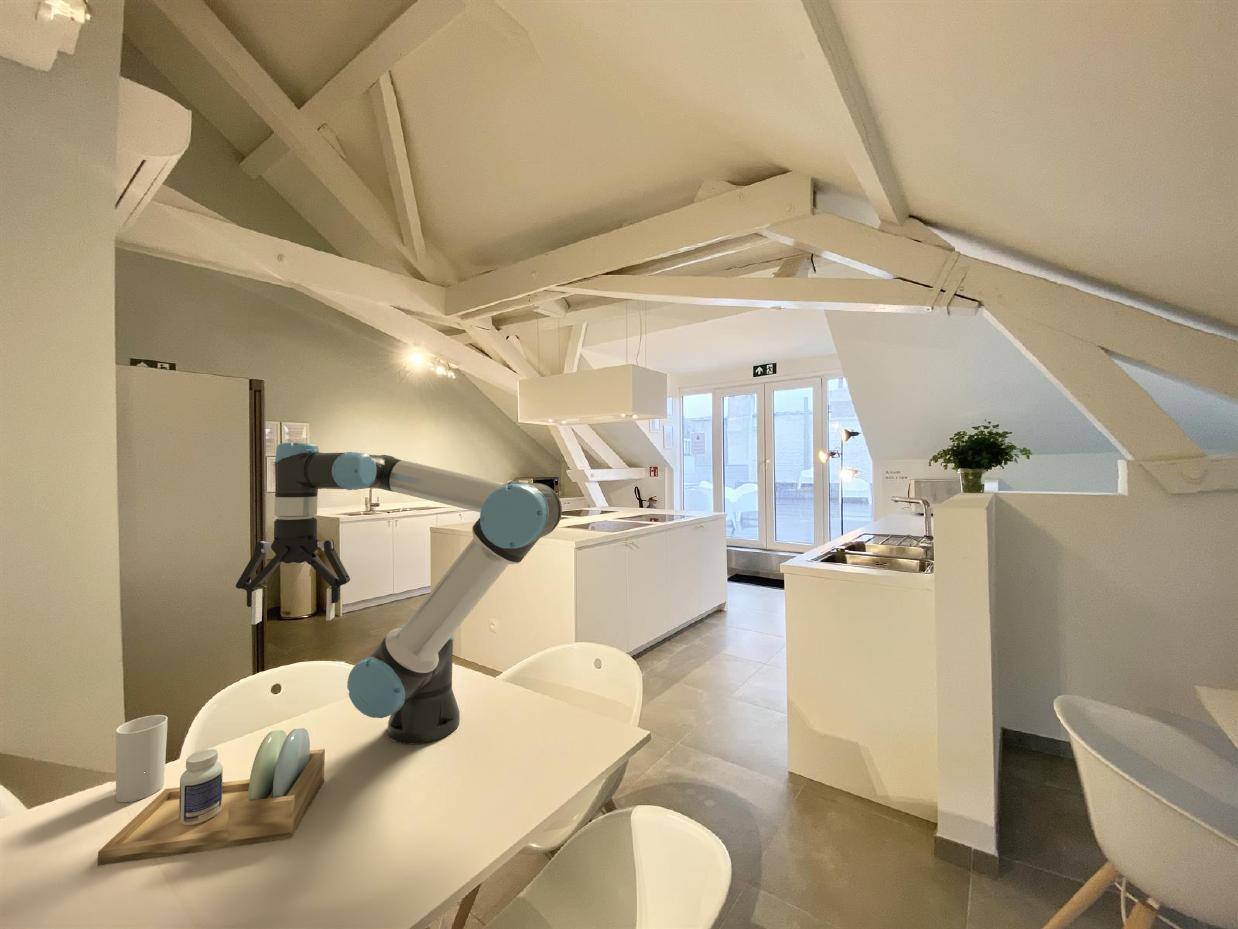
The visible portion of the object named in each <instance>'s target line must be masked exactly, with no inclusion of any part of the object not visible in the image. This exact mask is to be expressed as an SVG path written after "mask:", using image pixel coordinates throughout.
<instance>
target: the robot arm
mask: <svg viewBox="0 0 1238 929" xmlns="http://www.w3.org/2000/svg"><path fill="white" fill-rule="evenodd" d="M273 463H274V465H273V466H274V480H275V482H274V484H275V485H274V487H275V488H274V511H273V516H274V517H277V518H275V520H273V540H272V542H268V541H266V540H262V541H258V542H256V543H255V545H254V551H253V554H252V556H251V558H250V559H249V561H248V563H247V565H246V567H245V568H244V570H243V571H242V574H241V575H240V577H239V579H238V580H237V582H236V584H235V588H236V589H241V590H244V591H245V592H246V607H247V608H251V614H250V615H251V619H250V620H251V622H250V623H251V624H250V625H257V624H258V623H260V622H262V621H263V620H262V617H263V588H260V586H261V585H262V584H263V582H265V580H266V579H267V578H268V577H269V576H270V575H271V574H272V573H273V572H274V571H275V570H276V568H277V567H279V566H280V564H282V563H283V564H292V563H296V564H303V563H304V562H305V563H307V564H308V565H309V566H311V567H312V568H313V569H314V571H316V572H317V573H318V575H320V576H321V578H322V579H324V581H325V582H326V583H327V584H328V585H329V587H328V588H326V608H325V609H326V610H325V612H326V613H325V614H326V615H325V621H326V622H327V621H331V620H332V619H334V618H335V615H336V613H335V611H336V610H335V608H336V607H335V606H336V605H335V604H338V603H339V602H340V599H341V586H344V585H346V584H348V583H349V582H351V577H350V575H349V573H348V572H347V569H346V567H345V566H344V564H343V563H342V560H341V558H340V557H339V555H338V553H337V551H336V549H335V541H334V540H333V539H327V540H323V541H318V536H317V535H318V518H316V517H315V516H317V515H318V499H319V498H318V495H319V494H318V493H319V490H322V489H323V490H324V489H325V490H345V491H352V490H353V491H357V490H363V489H380V490H383V491H388V492H393V493H398V494H403V495H406V496H410V497H415V498H418V499H421V500H422V499H423V500H427V501H431V502H435V503H440V504H443V505H448V506H452V507H456V508H460V509H463V510H464V509H465V510H467V511H471V512H475V513H479V518H478V519H477V521H476V522H475V523H473V525H472V528H471V531H472V537H473V538H472V539H471V541H470V542H469V544H468V545H467V546H466V547H465V548H464V549H463V551H462V552H461V553H460V554H459V556H458V557H457V558H456V559H455V561H454V562H453V563H452V564H451V565H450V567H449V568H448V570H446V572H445V574H443V576H442V577H441V578H440V580H439V581H438V582H437V583H436V585H435V586H434V587H433V588H432V590H431V591H430V593H429V594H428V595H427V596H426V597H425V599H424V600H423V601H422V602H421V604H420V605H419V606H418V607H417V609H416V610H415V611H414V613H413V614H412V615H411V616H410V617H409V619H408V621H406V623H404V624H403V625H400V626H399V627H396V628H394V629H392V630H390V631H389V632H388V633H387V634H386V636H385V637H384V638H383V639H382V641H381V642H380V643H379V644H378V646H377V647H376V648H375V650H374V651H373V652H372V653H371V654H370V655H368V656H367V657H364V658H362V659H361V660H359V661H358V662H357V663H356V664H355V665H354V666H353V667H352V669H351V671H350V672H349V674H348V676H347V677H348V678H347V682H346V684H347V687H346V688H347V690H348V697H349V700H350V701H351V703H352V704H353V706H354V707H355V709H356V710H358V711H359V712H360V713H361V714H362V715H365V716H366V717H369V718H372V719H376V718H377V719H383V718H387V717H389V719H388V722H387V736H388V738H389V739H390V740H392V741H394V742H396V743H399V744H406V745H416V744H425V743H430V742H433V741H437V740H440V739H442V738H444V737H447V736H448V735H450V734H451V733H453V732H454V731H456V729H458V727H459V725H460V719H461V718H460V717H461V716H460V712H461V711H460V708H459V706H458V703H457V700H456V697H455V693H454V691H453V658H454V657H453V656H454V655H453V654H454V649H453V648H454V638H453V637H454V633H455V632H456V631H457V630H458V628H459V627H460V626H461V625H462V624H463V622H464V621H465V620H466V618H467V617H468V616H469V614H471V612H472V611H473V610H474V608H475V607H476V606H477V604H479V602H480V601H481V599H482V598H484V596H485V595H486V594H487V592H488V591H489V590H490V588H492V586H493V585H494V583H495V582H496V581H497V580H498V579H499V577H500V576H501V575H502V574H503V572H504V571H505V570H506V568H508V567H509V565H515V564H520V563H521V562H522V561H523V560H524V559H525V557H526V556H527V554H528V553H529V552H530V551H532V550H531V549H532V548H533V547H534V546H535V545H536V543H538V541H539V540H540V539H541V538H543V537H545V536H547V535H549V534H551V533H552V532H554V530H555V529H556V528H557V527H558V525H559V524H560V522H561V518H562V514H563V507H562V502H561V499H560V497H559V495H558V494H557V493H556V491H555V490H554V489H553V488H551V487H550V486H548V485H546V484H543V483H539V482H523V481H516V480H513V479H510V480H508V481H506V482H500V481H495V480H492V479H488V478H483V477H479V476H474V475H469V474H465V473H461V472H456V471H453V470H447V469H444V468H439V467H435V466H430V465H426V464H422V463H418V462H412V461H408V460H403V459H399V458H398V457H396V456H394V455H393V456H391V455H387V454H368V453H365V452H357V451H356V452H354V451H346V452H320V450H319V445H318V444H316V443H311V442H310V443H308V442H282V443H279V444H278V445H277V446H276V449H275V461H274V462H273ZM319 548H320V550H321V551H322V552H324V553H325V554H324V555H325V556H326V559H327V561H328V562H329V563H330V566H331V568H332V569H333V571H334V573H335V574H334V573H333V572H332V571H331V569H330V568H329V567H328V566H327V565H326V564H325V563H324V562H323V561H322V560H321V558H320V556H318V554H317V553H316V551H317V550H318V549H319ZM270 550H272V552H274V554H275V555H274V556H273V558H272V559H270V560H269V563H267V564H266V566H265V567H264V568H262V570H261V571H259V573H258V574H257V575H256V576H255V577H254V575H255V573H256V571H257V570H258V568H259V566H260V564H261V563H262V560H263V559H264V557H265V556H266V554H267V553H269V551H270ZM253 577H254V578H253ZM252 578H253V579H252Z"/></svg>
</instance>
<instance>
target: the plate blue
mask: <svg viewBox="0 0 1238 929" xmlns="http://www.w3.org/2000/svg"><path fill="white" fill-rule="evenodd" d="M310 750H311V742H310V735H309V732H308V730H307V729H306V727H305V728H304V727H301V728H293V729H292V730H291V731H290V732H289V733H288V734H287V737H286V739H285V741H284V743H283V745H282V748H281V751H280V753H279V757H278V760H277V764H276V769H275V774H274V782H273V798H275V797H283V796H287V794H288V793H289V791H290V790H291V788H292V787H293V785H294V784H295V782H296V781H297V779H298V778H299V777H300V775H301V774H302V772H303V771H304V769H305V768H306V766H307V765H308V763H309V756H310Z"/></svg>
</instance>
